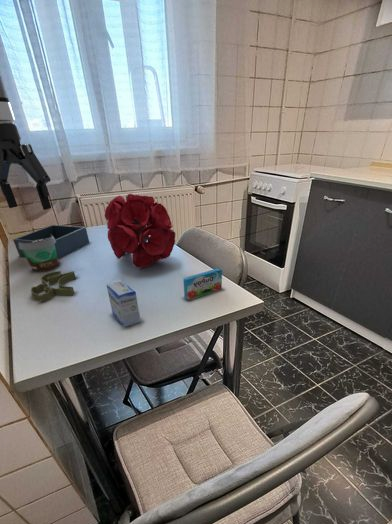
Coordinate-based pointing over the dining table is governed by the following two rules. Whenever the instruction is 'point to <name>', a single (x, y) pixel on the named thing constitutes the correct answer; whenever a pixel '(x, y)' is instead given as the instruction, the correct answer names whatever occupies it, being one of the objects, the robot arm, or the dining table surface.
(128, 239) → the bouquet
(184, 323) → the dining table surface
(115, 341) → the dining table surface
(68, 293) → the cookie cutter
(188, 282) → the light blue food packet
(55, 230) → the tote
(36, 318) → the dining table surface
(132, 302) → the medicine box
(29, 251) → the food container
